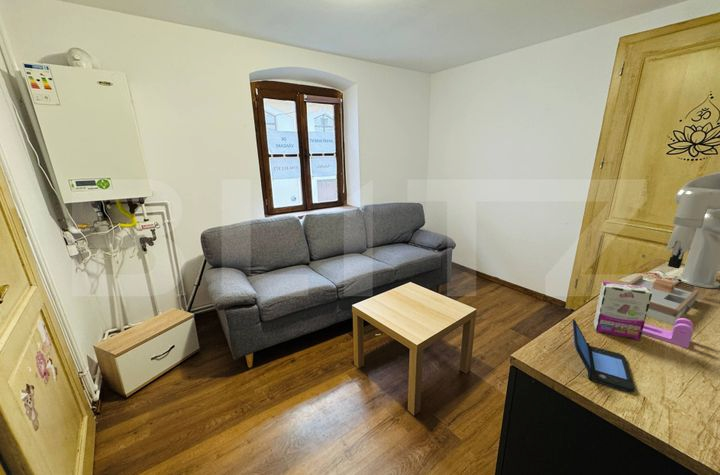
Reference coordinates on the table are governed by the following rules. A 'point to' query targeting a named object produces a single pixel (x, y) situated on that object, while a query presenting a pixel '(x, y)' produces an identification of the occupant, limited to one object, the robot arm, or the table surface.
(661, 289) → the block
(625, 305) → the candy bar box
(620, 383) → the handheld game console
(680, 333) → the bracket
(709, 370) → the table surface
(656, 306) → the box
